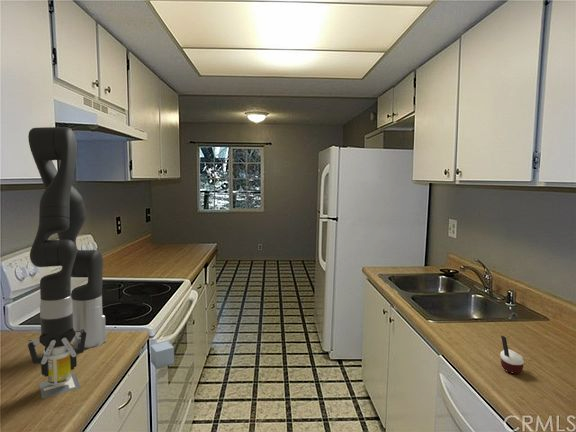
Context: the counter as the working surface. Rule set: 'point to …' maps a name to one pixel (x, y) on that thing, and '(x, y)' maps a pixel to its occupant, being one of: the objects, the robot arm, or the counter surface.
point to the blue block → (162, 354)
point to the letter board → (59, 387)
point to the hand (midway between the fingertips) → (59, 371)
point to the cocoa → (511, 359)
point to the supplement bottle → (59, 366)
